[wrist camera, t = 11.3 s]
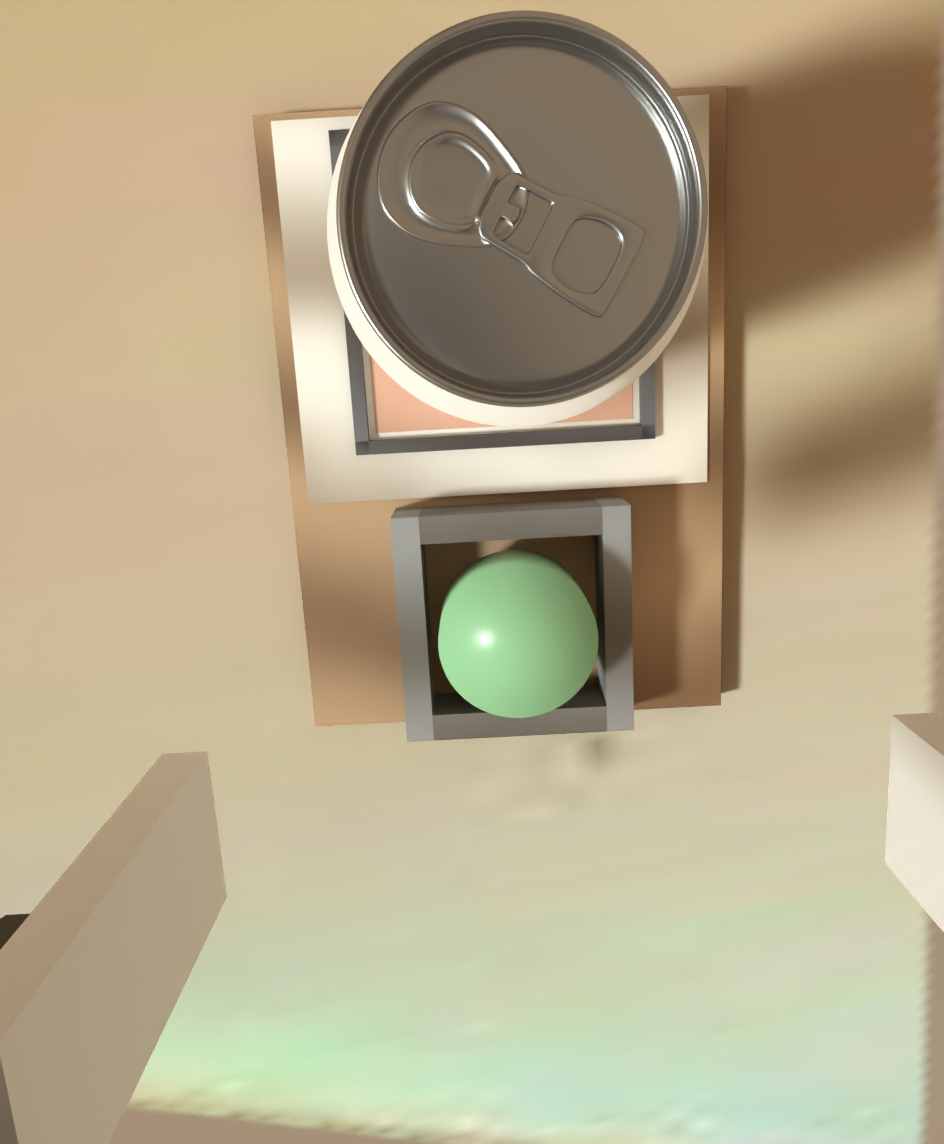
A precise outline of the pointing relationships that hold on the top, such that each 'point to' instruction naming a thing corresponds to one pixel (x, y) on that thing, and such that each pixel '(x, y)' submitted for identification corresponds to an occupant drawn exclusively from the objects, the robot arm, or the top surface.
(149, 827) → the robot arm
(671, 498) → the tan rectangular board
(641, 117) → the can
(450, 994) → the top surface
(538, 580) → the button
